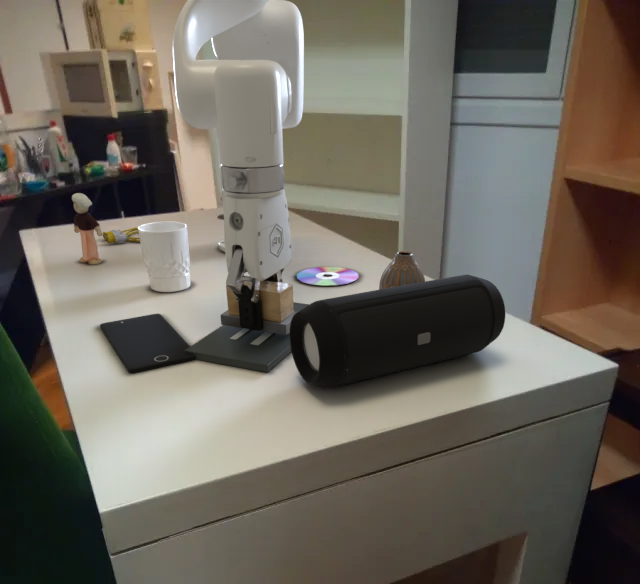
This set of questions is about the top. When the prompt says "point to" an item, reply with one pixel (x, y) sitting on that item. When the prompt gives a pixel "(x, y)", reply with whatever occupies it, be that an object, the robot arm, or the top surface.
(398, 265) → the vase
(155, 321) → the cell phone
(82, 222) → the grandmother figurine
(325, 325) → the portable speaker
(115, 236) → the yellow grey glove
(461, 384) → the top surface
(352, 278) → the cd
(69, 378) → the top surface
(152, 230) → the white cup
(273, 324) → the eraser
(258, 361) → the slate board
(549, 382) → the top surface
